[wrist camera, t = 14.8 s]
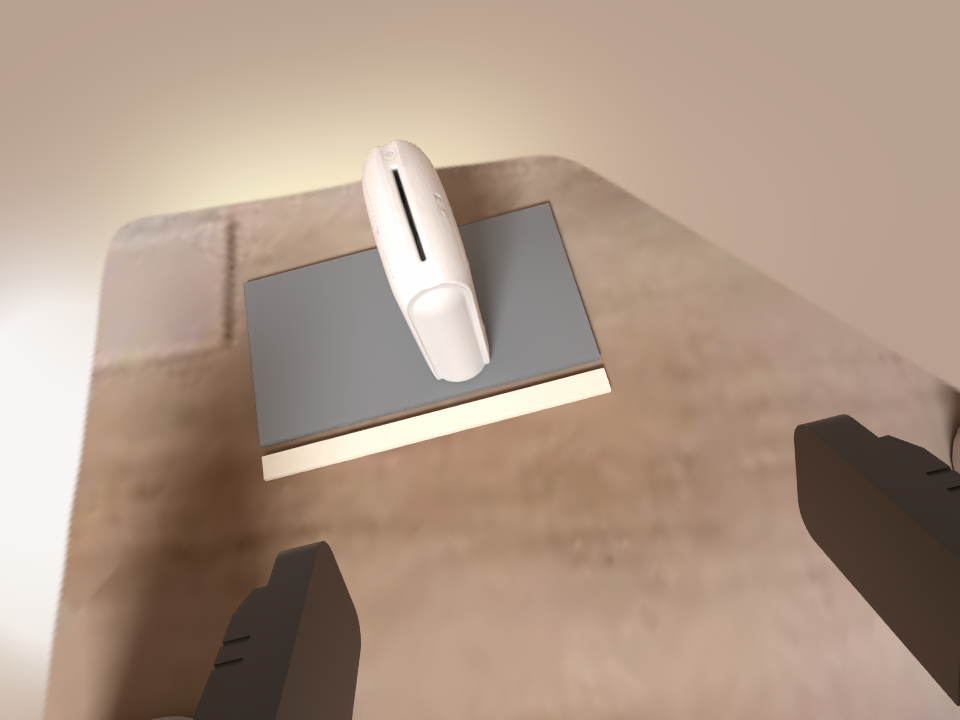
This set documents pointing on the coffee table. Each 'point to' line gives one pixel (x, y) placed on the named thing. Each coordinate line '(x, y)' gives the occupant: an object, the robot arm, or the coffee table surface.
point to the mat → (412, 345)
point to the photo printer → (425, 259)
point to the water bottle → (173, 718)
